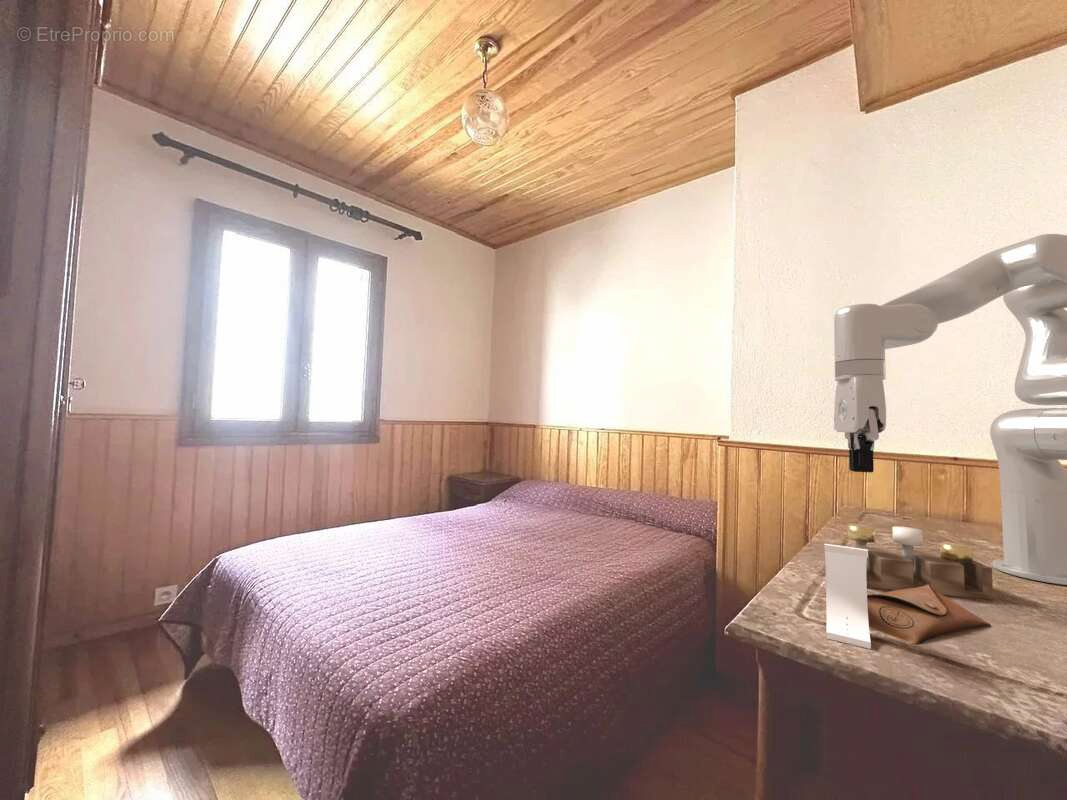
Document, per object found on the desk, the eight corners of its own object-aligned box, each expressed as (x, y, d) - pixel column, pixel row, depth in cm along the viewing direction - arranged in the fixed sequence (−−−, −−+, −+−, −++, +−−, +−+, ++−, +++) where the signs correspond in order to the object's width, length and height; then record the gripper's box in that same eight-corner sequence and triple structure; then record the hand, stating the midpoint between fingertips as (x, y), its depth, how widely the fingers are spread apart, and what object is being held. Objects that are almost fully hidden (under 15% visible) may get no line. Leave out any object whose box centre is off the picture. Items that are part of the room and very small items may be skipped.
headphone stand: (826, 638, 56) (824, 544, 57) (826, 621, 61) (824, 535, 62) (871, 649, 54) (868, 550, 54) (868, 630, 59) (865, 540, 59)
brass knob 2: (963, 579, 76) (962, 542, 76) (980, 587, 72) (978, 549, 72) (936, 576, 77) (934, 540, 77) (950, 584, 73) (949, 546, 73)
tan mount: (959, 582, 78) (958, 554, 78) (993, 599, 70) (991, 568, 70) (837, 571, 83) (837, 544, 83) (856, 586, 75) (855, 556, 75)
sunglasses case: (917, 646, 54) (885, 589, 58) (866, 652, 60) (839, 600, 63) (995, 624, 61) (962, 575, 64) (942, 631, 66) (914, 585, 70)
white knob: (915, 563, 78) (914, 527, 78) (928, 570, 74) (927, 532, 74) (889, 560, 79) (887, 525, 79) (900, 567, 75) (899, 530, 75)
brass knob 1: (869, 559, 80) (868, 524, 80) (880, 565, 76) (879, 529, 76) (844, 557, 81) (843, 522, 81) (854, 563, 77) (853, 527, 77)
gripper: (821, 376, 88) (822, 467, 87) (853, 366, 74) (855, 474, 73) (864, 376, 86) (866, 469, 85) (906, 366, 72) (908, 477, 71)
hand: (861, 471), depth 79 cm, fingers closed
